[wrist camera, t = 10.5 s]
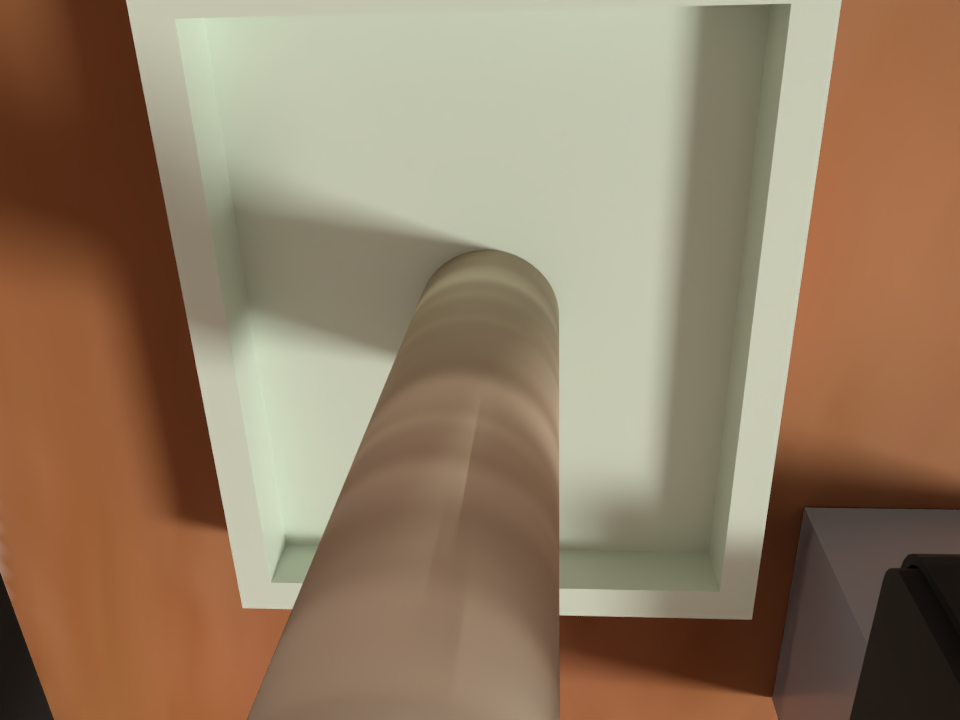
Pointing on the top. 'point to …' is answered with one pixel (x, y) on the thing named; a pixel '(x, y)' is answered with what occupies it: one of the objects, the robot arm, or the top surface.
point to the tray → (504, 227)
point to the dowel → (442, 523)
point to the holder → (845, 599)
